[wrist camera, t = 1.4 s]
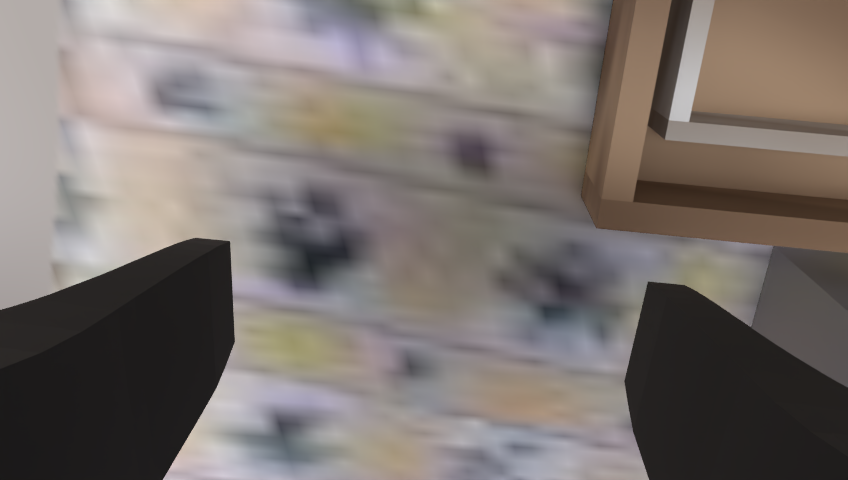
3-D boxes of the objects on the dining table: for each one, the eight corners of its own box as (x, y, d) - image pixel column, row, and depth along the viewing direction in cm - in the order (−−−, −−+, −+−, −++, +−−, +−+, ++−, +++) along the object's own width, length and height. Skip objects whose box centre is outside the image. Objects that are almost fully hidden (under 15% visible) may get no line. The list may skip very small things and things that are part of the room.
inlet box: (920, 228, 20) (991, 267, 18) (581, 195, 21) (596, 228, 18) (1089, -252, 16) (1216, -302, 13) (659, -279, 17) (694, -333, 14)
